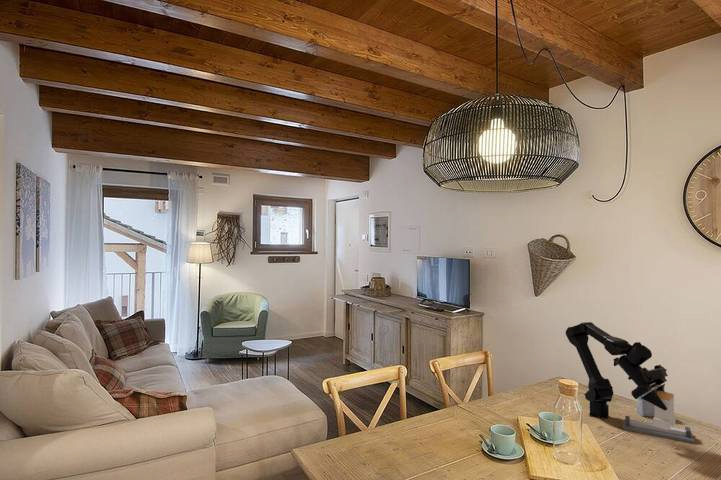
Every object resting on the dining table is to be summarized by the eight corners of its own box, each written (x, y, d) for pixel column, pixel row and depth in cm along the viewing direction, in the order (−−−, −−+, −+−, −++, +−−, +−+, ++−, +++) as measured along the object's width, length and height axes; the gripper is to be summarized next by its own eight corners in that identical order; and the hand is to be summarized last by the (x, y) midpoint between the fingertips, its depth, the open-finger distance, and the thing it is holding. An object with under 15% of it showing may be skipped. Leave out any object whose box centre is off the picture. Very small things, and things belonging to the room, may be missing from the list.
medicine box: (656, 412, 178) (655, 392, 178) (662, 417, 173) (662, 396, 173) (636, 412, 178) (636, 392, 178) (642, 416, 174) (642, 396, 174)
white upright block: (653, 425, 150) (652, 394, 150) (661, 420, 154) (660, 389, 154) (667, 430, 146) (667, 397, 146) (675, 424, 151) (675, 393, 151)
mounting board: (622, 429, 162) (622, 420, 163) (623, 421, 169) (623, 413, 169) (694, 443, 150) (694, 434, 150) (692, 435, 157) (691, 426, 157)
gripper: (640, 363, 148) (678, 403, 139) (660, 354, 159) (696, 391, 150) (617, 379, 154) (651, 419, 145) (637, 369, 165) (670, 406, 156)
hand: (668, 408), depth 149 cm, fingers closed on white upright block, 4 cm apart
